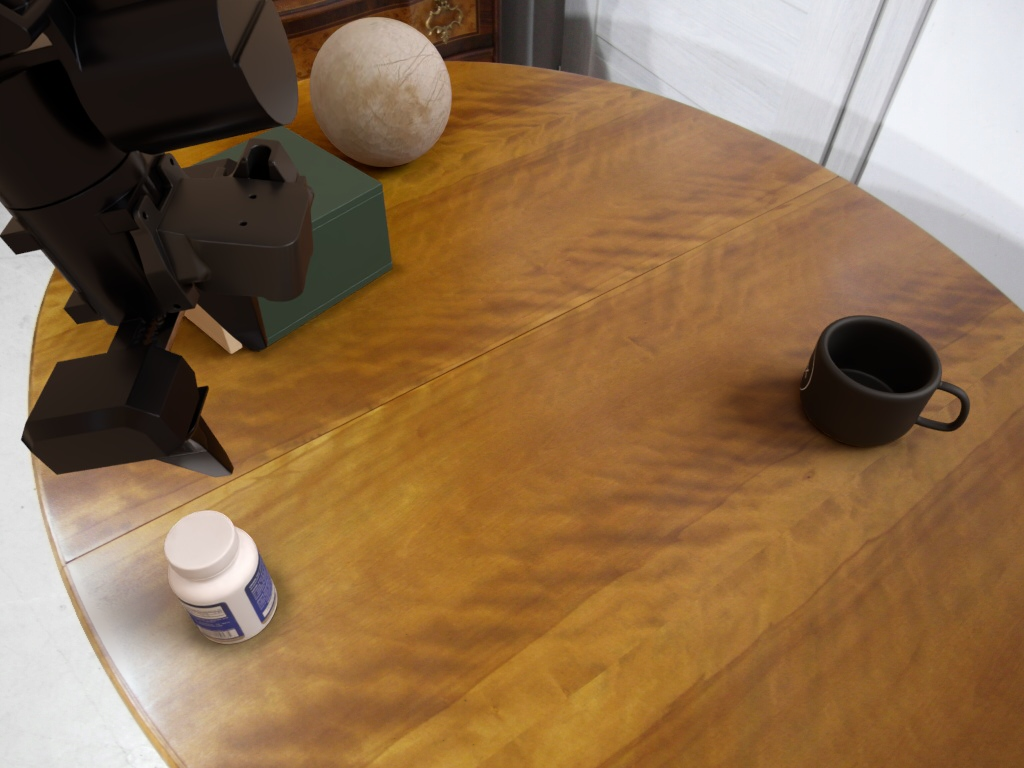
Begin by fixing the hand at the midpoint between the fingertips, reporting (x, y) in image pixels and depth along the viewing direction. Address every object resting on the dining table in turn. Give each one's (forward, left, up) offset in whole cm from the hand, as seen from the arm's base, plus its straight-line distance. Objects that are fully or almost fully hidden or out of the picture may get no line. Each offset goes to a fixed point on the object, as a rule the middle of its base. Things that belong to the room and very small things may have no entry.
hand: (243, 406), depth 43 cm
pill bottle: (+1, -5, -15) cm, 16 cm away
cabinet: (-25, +18, -15) cm, 34 cm away
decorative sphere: (-33, +39, -15) cm, 53 cm away
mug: (+25, +39, -15) cm, 48 cm away
